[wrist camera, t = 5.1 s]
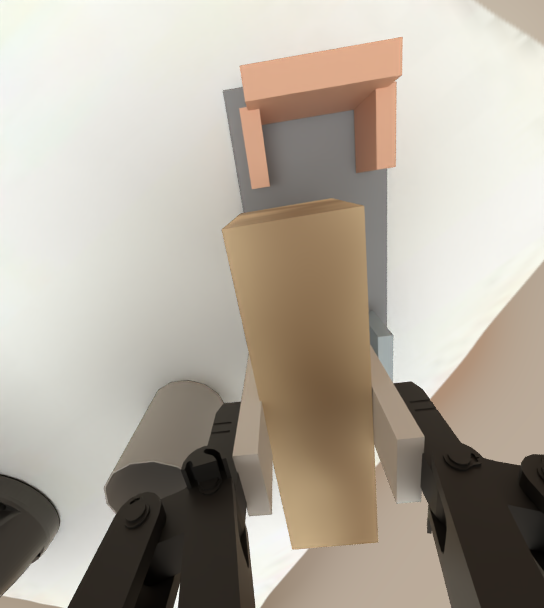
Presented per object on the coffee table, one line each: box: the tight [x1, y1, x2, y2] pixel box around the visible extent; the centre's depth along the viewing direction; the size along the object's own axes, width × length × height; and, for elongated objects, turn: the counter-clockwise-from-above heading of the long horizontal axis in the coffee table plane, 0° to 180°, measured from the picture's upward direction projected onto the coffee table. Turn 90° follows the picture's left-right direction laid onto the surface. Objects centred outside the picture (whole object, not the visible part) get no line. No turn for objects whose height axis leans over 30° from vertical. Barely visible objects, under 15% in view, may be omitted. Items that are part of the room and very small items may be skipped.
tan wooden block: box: [222, 198, 378, 550], centre depth 13 cm, size 4×15×5 cm, turn 9°
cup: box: [104, 380, 224, 514], centre depth 28 cm, size 8×8×10 cm
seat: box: [223, 87, 393, 382], centre depth 24 cm, size 12×26×5 cm, turn 8°
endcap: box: [239, 37, 403, 189], centre depth 19 cm, size 9×6×7 cm, turn 98°
